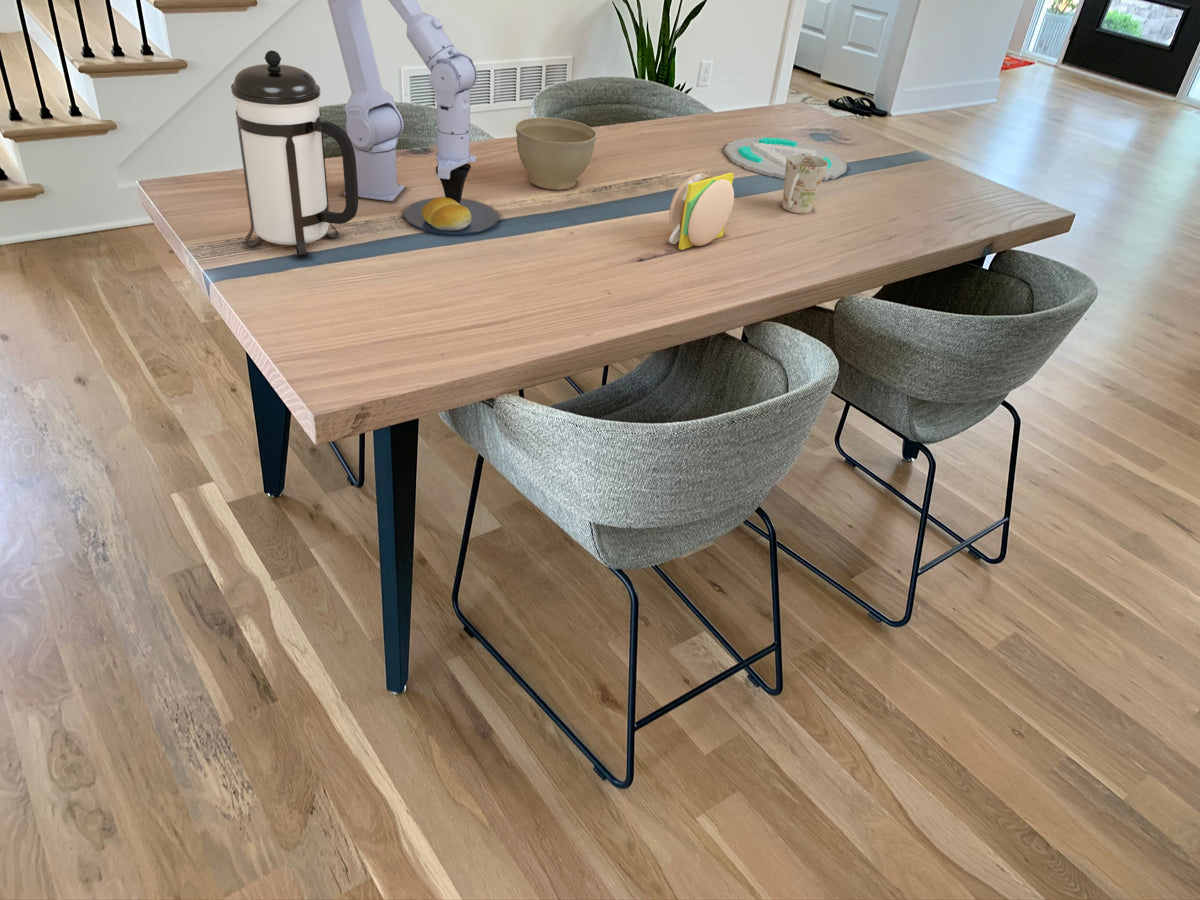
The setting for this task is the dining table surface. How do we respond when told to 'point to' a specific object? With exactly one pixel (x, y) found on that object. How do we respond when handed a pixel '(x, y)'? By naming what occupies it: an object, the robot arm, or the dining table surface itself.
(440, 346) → the dining table surface
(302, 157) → the coffee press
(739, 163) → the grey flat disc
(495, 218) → the plate
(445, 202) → the bread roll
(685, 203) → the hamburger
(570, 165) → the planter bowl
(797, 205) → the mug
